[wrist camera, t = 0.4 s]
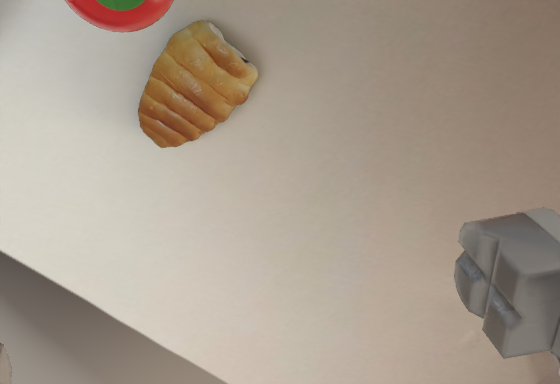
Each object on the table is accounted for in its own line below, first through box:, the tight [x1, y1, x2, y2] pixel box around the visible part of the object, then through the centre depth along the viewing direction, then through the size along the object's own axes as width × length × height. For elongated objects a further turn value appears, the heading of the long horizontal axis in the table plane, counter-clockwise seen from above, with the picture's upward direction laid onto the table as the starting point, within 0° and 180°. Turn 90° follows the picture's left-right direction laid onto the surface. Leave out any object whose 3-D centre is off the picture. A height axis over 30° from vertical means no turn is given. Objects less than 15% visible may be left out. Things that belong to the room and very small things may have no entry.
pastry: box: [138, 20, 259, 148], centre depth 36 cm, size 9×7×4 cm
